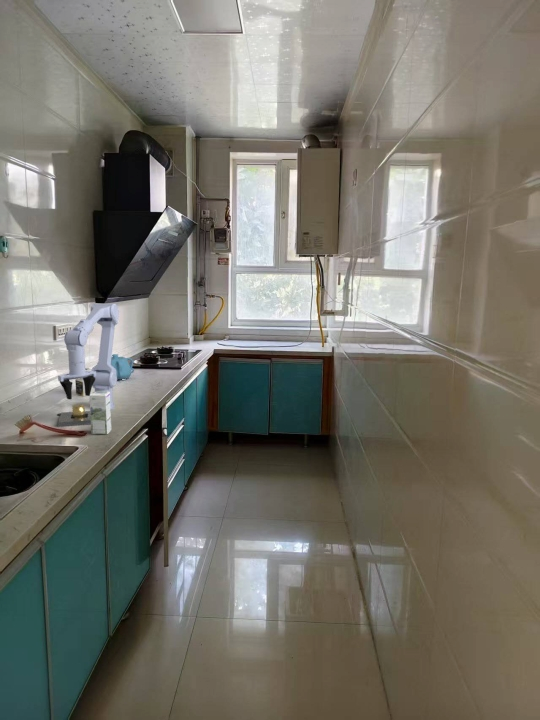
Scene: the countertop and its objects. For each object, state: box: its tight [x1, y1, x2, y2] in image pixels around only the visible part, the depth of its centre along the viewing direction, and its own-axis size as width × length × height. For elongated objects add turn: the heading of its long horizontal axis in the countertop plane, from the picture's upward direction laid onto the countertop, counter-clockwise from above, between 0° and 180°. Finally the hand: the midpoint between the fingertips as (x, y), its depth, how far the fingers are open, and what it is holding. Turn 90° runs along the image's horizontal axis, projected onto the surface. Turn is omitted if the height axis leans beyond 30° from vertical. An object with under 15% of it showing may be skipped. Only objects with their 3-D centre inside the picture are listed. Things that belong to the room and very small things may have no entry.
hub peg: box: [71, 404, 86, 419], centre depth 195 cm, size 4×4×6 cm
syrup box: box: [89, 392, 112, 435], centre depth 181 cm, size 6×6×14 cm
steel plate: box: [57, 410, 91, 428], centre depth 195 cm, size 14×14×2 cm
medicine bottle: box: [74, 368, 95, 397], centre depth 239 cm, size 7×7×12 cm
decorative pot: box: [96, 353, 135, 380], centre depth 274 cm, size 16×16×14 cm
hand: (78, 397), depth 194 cm, fingers open, 7 cm apart
